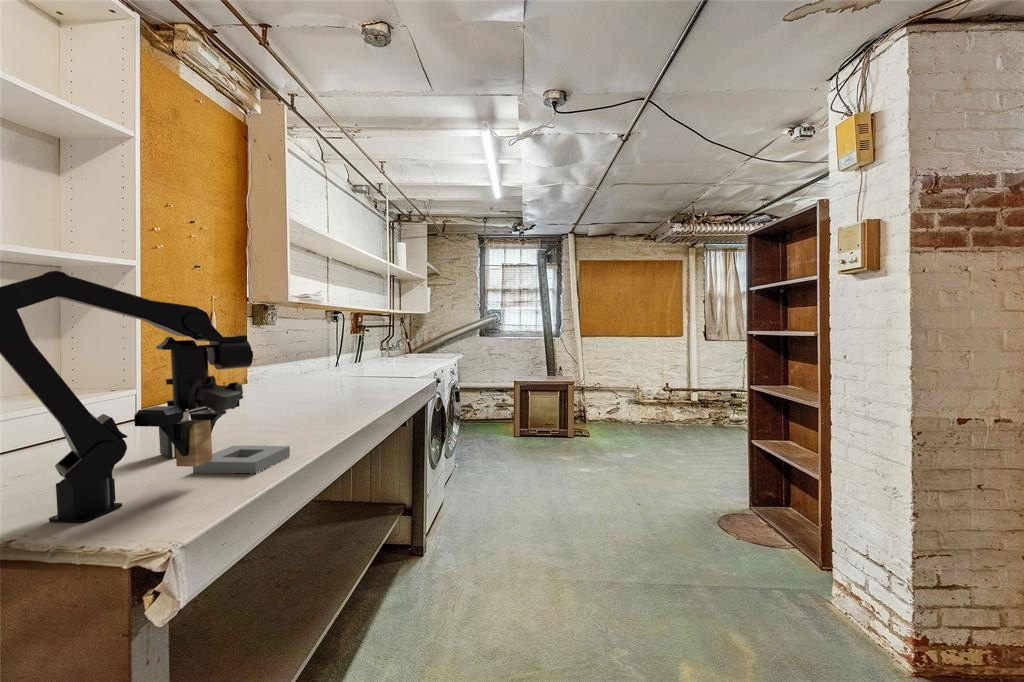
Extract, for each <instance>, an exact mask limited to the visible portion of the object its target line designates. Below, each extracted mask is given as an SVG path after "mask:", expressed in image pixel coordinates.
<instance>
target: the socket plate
mask: <svg viewBox="0 0 1024 682" xmlns="http://www.w3.org/2000/svg"><path fill="white" fill-rule="evenodd" d="M289 456H290V457H291V449H290V445H232V446H231V445H230V446H229V447H226V448H224V449H221V450H219V451H216V452H214V453H213V452H212V460H211V461H209V462H206V463H204V464H202V465H199V466H197V467H192V473H193V474H215V473H257V472H259V471H261V470H263V469H265V468H267V467H269V466H271V465H273V464H275V463H277V462H279V461H281V460H282V461H284V460H285V459H284V458H286V459H288V458H290V457H289ZM287 457H288V458H287ZM283 459H284V460H283ZM282 461H281V462H282ZM279 463H280V462H279ZM277 464H278V463H277ZM275 465H276V464H275ZM273 466H274V465H273ZM271 467H272V466H271ZM269 468H270V467H269ZM267 469H268V468H267ZM265 470H266V469H265ZM263 471H264V470H263ZM261 472H262V471H261ZM259 473H260V472H259ZM257 474H258V473H257Z"/></svg>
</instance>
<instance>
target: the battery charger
mask: <svg viewBox="0 0 1024 682" xmlns="http://www.w3.org/2000/svg"><path fill="white" fill-rule="evenodd" d="M158 437H159V438H158V440H159V454H161V455H162V456H164V457H165V458H168V459H174V458H176V447H175V446H174V444H173V443H172V442H171V440H170V439H169V437H168V436H167V435H166V434H165V433H164V432H163V431H162V429H161V428H160V427H158Z"/></svg>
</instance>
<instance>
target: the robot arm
mask: <svg viewBox="0 0 1024 682" xmlns="http://www.w3.org/2000/svg"><path fill="white" fill-rule="evenodd" d="M53 298H57V299H61V300H65V301H68V302H74V303H76V304H80V305H84V306H88V307H92V308H96V309H99V310H102V311H107V312H111V313H114V314H118V315H121V316H124V317H125V316H126V317H129V318H132V319H138V320H140V321H143V322H145V323H148V324H150V325H152V326H154V327H156V329H157V328H158V329H159V330H162V331H164V332H167V333H169V334H172V335H173V336H176V337H180V338H181V337H183V338H184V337H185V338H187V337H188V338H190V339H185V340H184V339H181V340H179V339H178V340H176V339H175V338H174V337H172V336H166V337H165V339H164V340H163V341H162V342H161V343H159V344H157V346H155V348H156V350H163V351H170V363H171V365H170V367H171V368H170V369H171V378H166V379H165V385H166V386H167V385H169V386H170V385H171V387H172V389H171V390H172V399H171V400H166V403H167V404H166V406H165V405H164V406H161V405H158V406H152V407H147V408H142V409H138V410H137V412H136V413H135V414H134V416H133V417H134V418H133V419H134V421H133V422H134V427H158V428H159V427H160V428H161V429H162V431H163V432H164V433H165V434H166V435H167V436H168V437H169V439H170V440H171V442H172V443H173V444H174V446H175V447H176V449H177V450H178V452H179V453H180V454H181V456H188V454H189V429H190V427H191V426H192V425H193V424H194V422H195V421H196V420H211V434H212V432H213V429H214V427H215V425H216V422H217V421H218V420H219V419H221V417H223V416H224V415H226V414H227V413H228V410H234V409H236V408H239V407H240V400H243V399H244V395H243V394H244V389H243V384H242V383H240V382H236V381H235V382H234V381H233V382H230V383H228V384H227V385H225V384H224V385H219V384H217V382H216V377H215V376H214V375H210V374H209V373H210V372H209V365H210V366H213V367H214V368H215V370H218V371H220V370H221V371H222V370H231V369H242V368H243V369H244V368H249V367H251V365H252V364H253V359H254V352H253V350H252V347H251V344H250V342H249V341H248V336H247V335H245V334H243V335H240V334H239V335H234V336H223V335H222V334H221V333H220V332H219V331H218V329H217V328H216V327H215V326H213V324H211V318H210V315H209V314H208V312H207V311H206V310H205V309H204V308H201V307H199V306H194V305H187V304H181V303H173V302H166V301H165V302H163V301H157V300H152V299H148V298H145V297H142V296H138V295H135V294H132V293H129V292H126V291H122V290H118V289H115V288H113V287H108V286H106V285H102V284H99V283H97V282H92V281H89V280H85V279H82V278H78V277H76V276H72V275H70V274H68V273H66V272H64V271H61V270H50V271H47V272H45V273H42V274H40V275H39V276H38V275H37V276H35V277H31V278H28V279H24V280H20V281H15V282H14V283H9V284H5V285H2V286H0V356H1V357H2V358H3V359H4V361H5V362H6V363H7V364H8V365H9V367H10V368H11V369H12V370H13V371H14V372H15V374H17V376H18V377H19V379H21V380H22V382H23V383H24V384H25V385H26V386H27V387H28V389H29V390H30V391H31V392H32V394H34V396H35V397H36V398H37V399H38V400H39V402H40V403H41V404H42V405H43V406H44V407H45V408H46V410H47V412H49V414H50V415H52V417H53V418H54V419H55V420H56V421H57V423H58V424H59V426H60V429H61V431H62V433H63V436H64V437H65V440H66V442H67V443H68V446H69V448H70V449H71V451H69V452H68V453H67V454H66V455H65V456H64V457H62V458H61V459H60V460H58V462H57V463H56V464H55V466H54V468H55V470H56V471H57V472H58V474H59V475H60V476H61V477H63V479H61V480H60V481H59V482H57V483H56V482H55V495H56V497H55V498H56V511H57V512H56V513H57V514H56V515H53V516H50V517H48V522H60V523H61V522H64V523H66V522H67V523H85V522H89V521H91V520H93V519H95V518H97V517H99V516H101V515H105V514H107V513H109V512H112V511H113V510H116V509H118V508H121V507H122V506H123V502H116V486H115V485H116V483H115V482H116V481H115V479H114V477H113V470H114V468H115V466H116V465H117V464H118V463H119V462H120V461H121V460H122V459H123V458H124V457H125V456H126V452H127V450H128V446H127V442H126V441H125V440H124V439H126V438H127V439H128V435H126V434H125V433H123V432H122V431H121V430H120V429H119V427H118V426H117V424H116V421H115V420H114V418H113V417H111V416H110V415H109V416H108V415H107V414H104V413H102V414H100V415H99V416H97V417H96V416H95V415H93V414H92V413H91V412H90V411H89V410H88V409H87V407H86V406H85V405H84V404H83V403H82V401H80V399H79V398H78V396H77V395H76V394H75V393H74V391H73V390H72V389H71V387H70V386H69V385H68V384H67V383H66V381H64V379H63V378H62V377H61V375H60V374H59V373H58V372H57V371H56V369H55V368H54V367H53V366H52V364H51V363H50V362H49V361H48V359H47V358H46V357H45V356H44V355H43V353H42V352H41V351H40V350H39V349H38V347H37V346H36V345H35V343H34V342H33V341H32V340H31V337H30V336H29V333H28V331H27V329H26V326H25V324H24V321H23V319H22V317H21V315H20V313H19V311H18V310H20V309H23V308H26V307H29V306H32V305H35V304H38V303H41V302H44V301H48V300H51V299H53ZM197 342H209V343H208V344H197Z"/></svg>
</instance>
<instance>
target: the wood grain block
mask: <svg viewBox="0 0 1024 682" xmlns="http://www.w3.org/2000/svg"><path fill="white" fill-rule="evenodd" d="M212 454H213V445H212V433H211V420H196V421H195V422H194V424H193V425H192V426H191V427H190V429H189V454H188V456H181V454H180V453H179V452H178V450H177V449H176V457H175V460H176V461H175V463H176V467H183V468H185V467H188V468H189V467H191V468H193V467H197V466H199V465H202V464H204V463H206V462H209V461H211V460H212Z"/></svg>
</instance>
